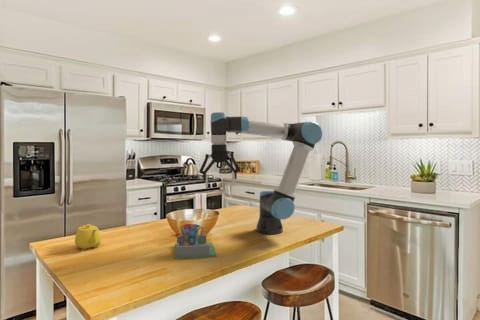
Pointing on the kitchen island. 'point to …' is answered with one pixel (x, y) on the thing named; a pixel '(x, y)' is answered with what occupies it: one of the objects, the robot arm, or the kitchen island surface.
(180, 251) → the grey stepped block
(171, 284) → the kitchen island surface
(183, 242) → the mug
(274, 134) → the robot arm
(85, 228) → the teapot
